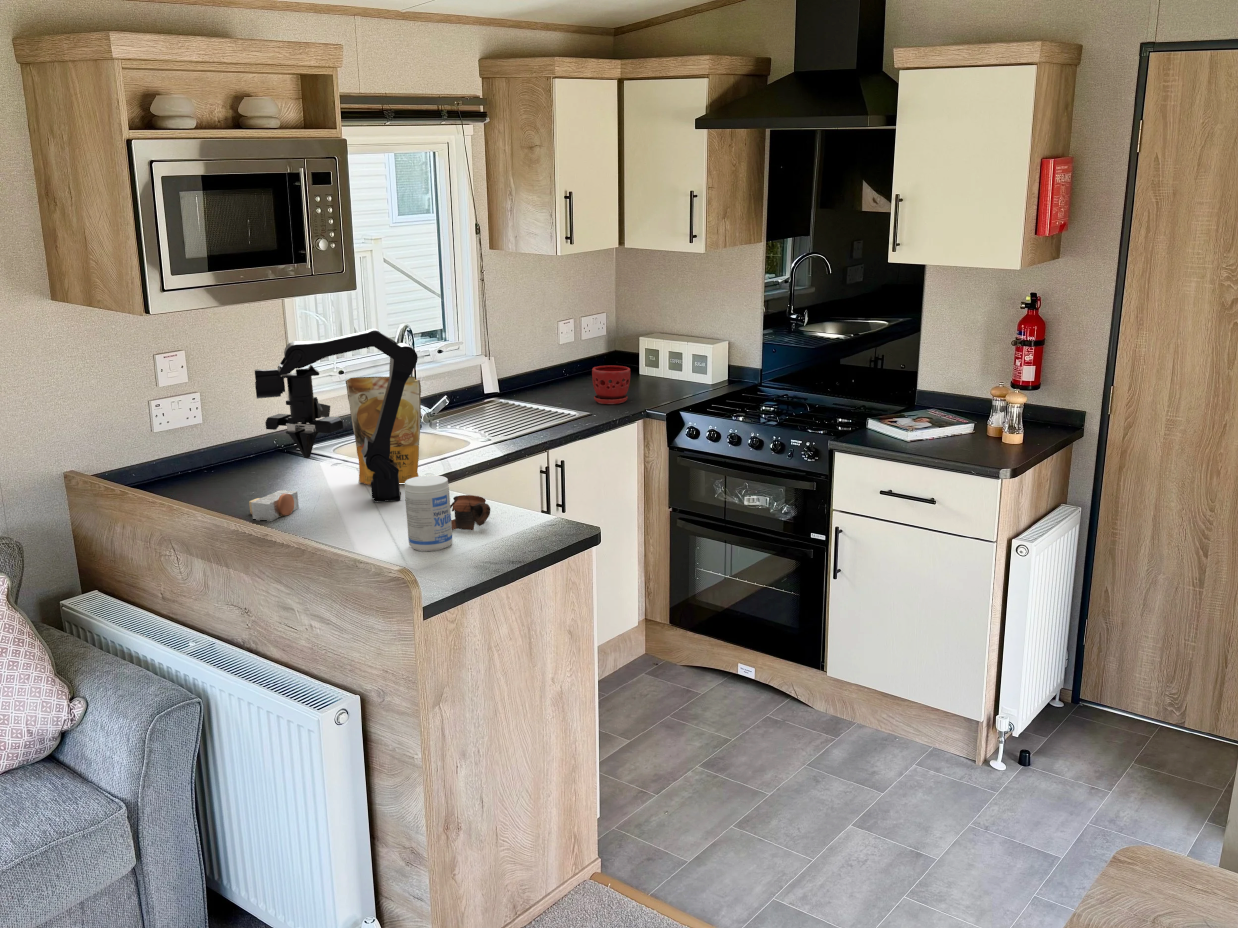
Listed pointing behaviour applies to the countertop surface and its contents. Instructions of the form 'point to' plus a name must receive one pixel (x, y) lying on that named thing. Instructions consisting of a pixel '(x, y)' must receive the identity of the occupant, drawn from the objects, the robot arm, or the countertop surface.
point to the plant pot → (611, 384)
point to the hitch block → (271, 505)
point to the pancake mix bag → (406, 429)
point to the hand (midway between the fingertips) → (307, 457)
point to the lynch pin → (281, 504)
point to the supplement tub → (428, 512)
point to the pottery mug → (469, 512)
